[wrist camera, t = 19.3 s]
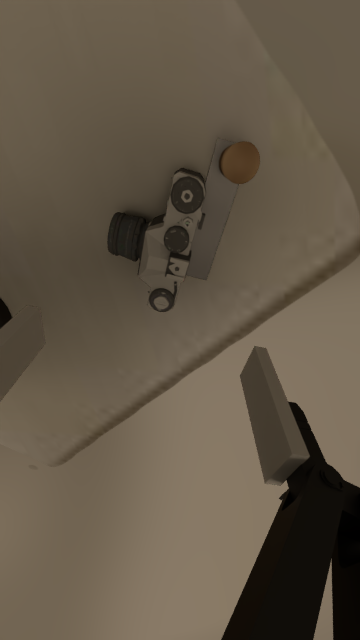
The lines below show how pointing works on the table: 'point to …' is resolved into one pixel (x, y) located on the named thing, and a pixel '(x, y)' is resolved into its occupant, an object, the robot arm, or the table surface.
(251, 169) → the brown rounded cylinder
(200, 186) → the camera
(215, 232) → the strip
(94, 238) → the table surface
